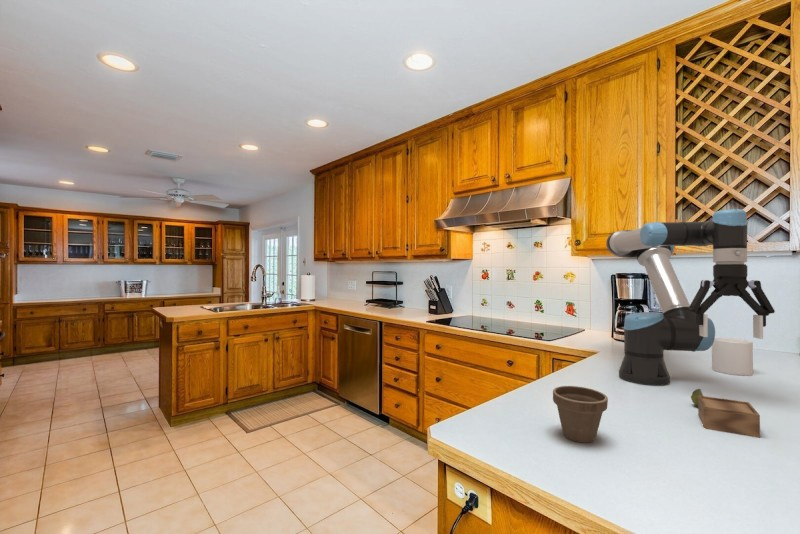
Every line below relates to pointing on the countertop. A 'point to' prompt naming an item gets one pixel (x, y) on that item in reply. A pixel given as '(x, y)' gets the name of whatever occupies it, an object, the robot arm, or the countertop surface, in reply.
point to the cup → (732, 356)
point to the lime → (696, 396)
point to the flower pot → (579, 411)
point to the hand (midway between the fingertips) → (730, 337)
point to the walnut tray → (729, 416)
